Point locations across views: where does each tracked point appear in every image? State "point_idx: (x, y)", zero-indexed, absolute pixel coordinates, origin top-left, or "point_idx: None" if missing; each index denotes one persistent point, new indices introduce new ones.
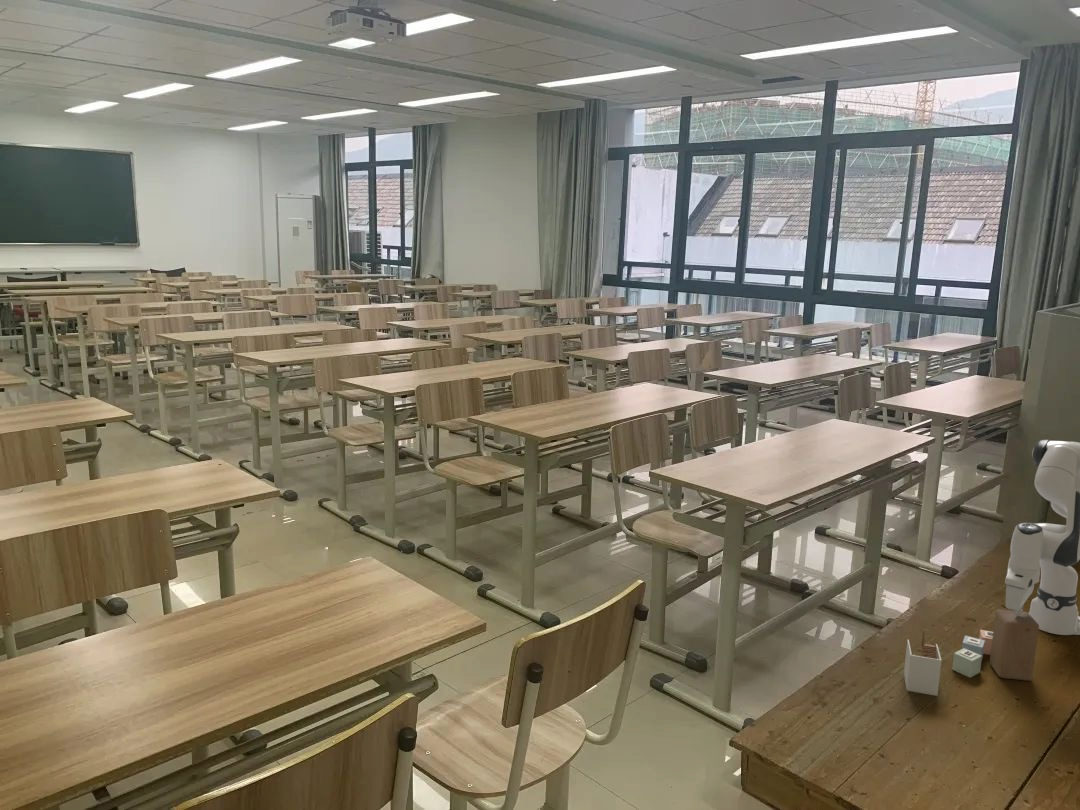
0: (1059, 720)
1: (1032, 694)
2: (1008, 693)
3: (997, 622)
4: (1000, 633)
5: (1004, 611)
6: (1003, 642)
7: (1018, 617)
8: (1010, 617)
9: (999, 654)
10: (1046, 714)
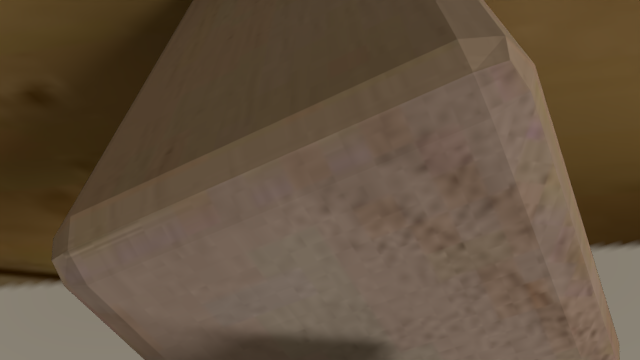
0: (9, 254)
1: None
2: (57, 52)
3: (323, 44)
4: (201, 71)
5: (448, 196)
6: (141, 89)
7: (325, 356)
8: (242, 290)
9: (203, 9)
10: (11, 214)
